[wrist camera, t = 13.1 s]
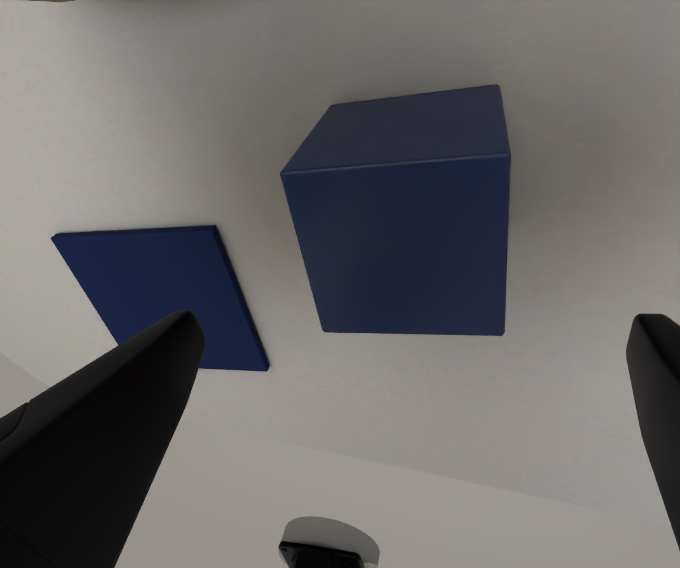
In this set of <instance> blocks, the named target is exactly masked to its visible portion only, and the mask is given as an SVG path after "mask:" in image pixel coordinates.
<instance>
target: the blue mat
mask: <svg viewBox="0 0 680 568" xmlns="http://www.w3.org/2000/svg"><path fill="white" fill-rule="evenodd" d="M51 240H52V241H53V243H54V244H55V246H56V248H57V249H58V251H59V252H60V254H61V255H62V257H63V259H64V260H65V262H66V263H67V265H68V266H69V268H70V270H71V271H72V273H73V274H74V276H75V277H76V279H77V281H78V282H79V284H80V285H81V287H82V289H83V290H84V292H85V293H86V295H87V296H88V298H89V300H90V301H91V303H92V304H93V306H94V307H95V309H96V311H97V312H98V314H99V315H100V317H101V318H102V320H103V322H104V323H105V325H106V326H107V328H108V330H109V331H110V333H111V334H112V336H113V337H114V339H115V341H116V342H117V344H118V345H120V344H122V343H123V342H125V341H127V340H128V339H130V338H131V337H133V336H135V335H136V334H138V333H140V332H141V331H143V330H144V329H146V328H148V327H149V326H151V325H153V324H154V323H156V322H157V321H159V320H161V319H162V318H164V317H165V316H167V315H169V314H170V313H172V312H174V311H178V310H184V311H192V312H193V313H194V314H195V315H196V317H197V319H198V321H199V323H200V325H201V328H202V330H203V332H204V334H205V336H206V347H205V350H204V353H203V357H202V360H201V363H200V366H199V368H204V369H225V370H247V371H268V369H269V366H270V365H269V363H268V360H267V357H266V355H265V352H264V350H263V347H262V344H261V342H260V339H259V337H258V334H257V331H256V329H255V326H254V324H253V321H252V319H251V316H250V313H249V311H248V308H247V306H246V303H245V300H244V298H243V295H242V293H241V290H240V287H239V285H238V282H237V280H236V277H235V274H234V272H233V269H232V267H231V264H230V261H229V259H228V256H227V254H226V251H225V248H224V246H223V243H222V241H221V238H220V235H219V233H218V230H217V228H216V226H215V225H214V226H195V227H176V228H157V229H138V230H119V231H100V232H80V233H61V234H55V235H54V236H53V237H52V238H51Z"/></svg>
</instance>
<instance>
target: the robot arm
mask: <svg viewBox="0 0 680 568" xmlns="http://www.w3.org/2000/svg"><path fill="white" fill-rule="evenodd" d="M205 347H206V336H205V334H204V332H203V330H202V328H201V325H200V323H199V321H198V319H197V317H196V315H195V314H194V313H193V312H192V311H184V310H178V311H174V312H172V313H170V314H169V315H167V316H165V317H164V318H162V319H161V320H159V321H157V322H156V323H154V324H153V325H151V326H149V327H148V328H146V329H144V330H143V331H141V332H140V333H138V334H136V335H135V336H133V337H131V338H130V339H128V340H127V341H125V342H123V343H122V344H120V345H119V346H117V347H115V348H114V349H112V350H110V351H109V352H107V353H106V354H104V355H102V356H101V357H99V358H98V359H96V360H94V361H93V362H91V363H89V364H88V365H86V366H85V367H83V368H81V369H80V370H78V371H76V372H75V373H73V374H72V375H70V376H68V377H67V378H65V379H64V380H62V381H60V382H59V383H57V384H55V385H54V386H52V387H51V388H49V389H47V390H46V391H44V392H42V393H41V394H39V395H38V396H36V397H35V398H33V399H31V400H30V401H29V403H24V404H23V405H21V406H20V407H18V408H16V409H15V410H13V411H12V412H10V413H8V414H7V415H5V416H3V417H2V418H0V568H114V567H115V565H116V563H117V561H118V558H119V556H120V554H121V552H122V549H123V547H124V545H125V542H126V540H127V538H128V536H129V533H130V531H131V529H132V527H133V524H134V522H135V520H136V518H137V515H138V513H139V511H140V509H141V506H142V504H143V502H144V500H145V497H146V495H147V493H148V491H149V488H150V486H151V484H152V482H153V479H154V477H155V475H156V472H157V470H158V468H159V466H160V464H161V461H162V459H163V457H164V454H165V452H166V450H167V448H168V446H169V443H170V441H171V439H172V436H173V434H174V432H175V430H176V428H177V425H178V423H179V421H180V419H181V416H182V414H183V412H184V409H185V407H186V404H187V402H188V399H189V396H190V393H191V390H192V387H193V384H194V381H195V378H196V375H197V372H198V369H199V366H200V363H201V360H202V357H203V353H204V350H205ZM626 358H627V364H628V369H629V374H630V379H631V384H632V390H633V395H634V400H635V405H636V410H637V415H638V420H639V425H640V430H641V434H642V438H643V441H644V445H645V448H646V451H647V454H648V457H649V460H650V463H651V466H652V469H653V472H654V475H655V478H656V481H657V484H658V487H659V490H660V493H661V496H662V499H663V502H664V505H665V508H666V511H667V514H668V517H669V520H670V523H671V526H672V529H673V532H674V534H675V537H676V541H677V544H678V547H679V550H680V326H679V325H678V324H677V323H675V322H674V321H672V320H671V319H670V318H668V317H667V316H665V315H663V314H638V315H636V316H635V318H634V320H633V323H632V327H631V331H630V335H629V339H628V343H627V348H626ZM279 550H280V552H281V553H282V555H283V557H284V559H285V561H286V562H287V564H288V566H289V568H364V565H363V562H362V559H361V556H360V555H359V554H358V553H356V552H351V551H344V550H338V549H332V548H325V547H319V546H313V545H306V544H300V543H294V542H287V541H281V542H280V544H279Z"/></svg>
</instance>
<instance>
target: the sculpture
mask: <svg viewBox="0 0 680 568" xmlns="http://www.w3.org/2000/svg"><path fill="white" fill-rule="evenodd" d="M30 1H50V2H66V1H74V0H30Z"/></svg>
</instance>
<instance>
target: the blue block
mask: <svg viewBox="0 0 680 568" xmlns="http://www.w3.org/2000/svg"><path fill="white" fill-rule="evenodd" d="M510 169H511V152H510V146H509V140H508V134H507V128H506V121H505V115H504V109H503V103H502V96H501V90H500V86H499V85H497V84H496V85H488V86H480V87H472V88H464V89H456V90H448V91H440V92H432V93H424V94H416V95H409V96H401V97H393V98H385V99H377V100H369V101H361V102H353V103H345V104H337V105H331V106H330V107H329V108H328V110H327V111H326V112H325V114H324V115H323V116H322V118H321V119H320V120H319V122H318V123H317V124H316V126H315V127H314V128H313V130H312V131H311V132H310V133H309V135H308V136H307V137H306V139H305V140H304V141H303V143H302V144H301V145H300V147H299V148H298V149H297V151H296V152H295V153H294V155H293V156H292V157H291V159H290V160H289V161H288V163H287V164H286V165H285V167H284V168H283V169H282V171H281V173H280V176H281V180H282V183H283V187H284V191H285V194H286V198H287V202H288V205H289V209H290V213H291V216H292V220H293V224H294V227H295V231H296V235H297V238H298V242H299V246H300V249H301V253H302V257H303V260H304V264H305V268H306V271H307V275H308V279H309V282H310V286H311V290H312V293H313V297H314V301H315V304H316V308H317V312H318V315H319V319H320V323H321V326H322V330H323V332H334V333H383V334H433V335H483V336H502V335H503V334H504V332H505V309H506V281H507V253H508V225H509V197H510Z"/></svg>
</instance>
